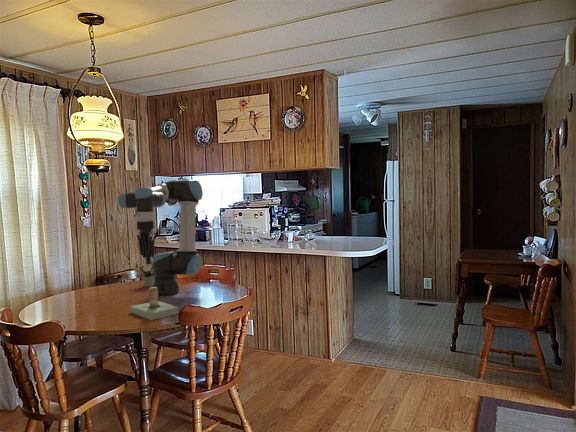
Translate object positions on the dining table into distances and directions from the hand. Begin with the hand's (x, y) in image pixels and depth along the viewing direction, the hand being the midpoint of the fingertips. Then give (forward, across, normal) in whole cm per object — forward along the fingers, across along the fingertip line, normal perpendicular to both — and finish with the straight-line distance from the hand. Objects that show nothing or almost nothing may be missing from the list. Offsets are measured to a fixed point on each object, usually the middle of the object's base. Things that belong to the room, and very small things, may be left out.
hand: (147, 270), depth 208 cm
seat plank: (+20, +1, +2) cm, 20 cm away
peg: (+20, +1, +2) cm, 20 cm away
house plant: (+21, -61, +34) cm, 73 cm away
